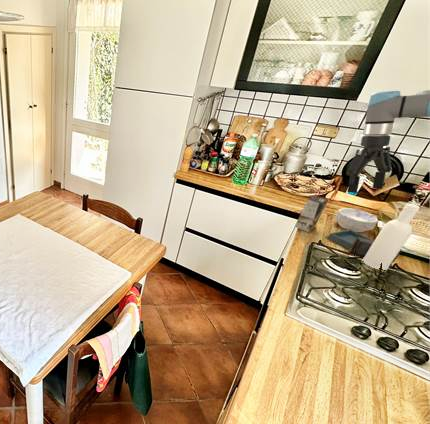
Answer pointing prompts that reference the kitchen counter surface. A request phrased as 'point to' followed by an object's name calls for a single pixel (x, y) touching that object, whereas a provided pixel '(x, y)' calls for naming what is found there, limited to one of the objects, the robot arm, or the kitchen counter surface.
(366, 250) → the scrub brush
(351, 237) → the drying tray
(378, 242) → the bottle
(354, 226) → the paper bowls
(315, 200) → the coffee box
